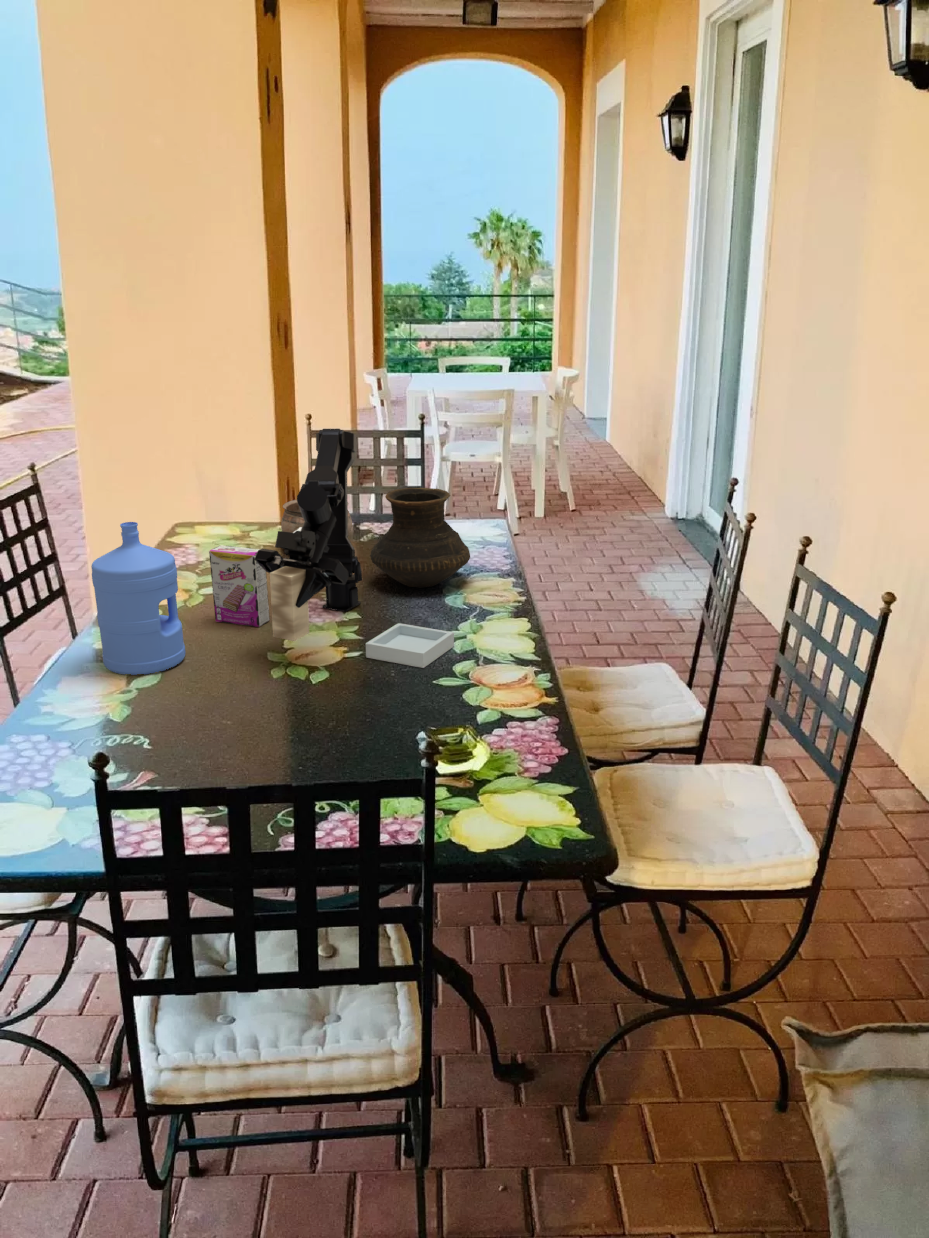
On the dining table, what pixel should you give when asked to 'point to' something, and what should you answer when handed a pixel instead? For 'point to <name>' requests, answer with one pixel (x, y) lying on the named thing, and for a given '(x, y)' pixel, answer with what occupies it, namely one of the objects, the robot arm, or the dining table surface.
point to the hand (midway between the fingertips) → (285, 604)
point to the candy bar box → (238, 586)
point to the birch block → (288, 604)
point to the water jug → (137, 607)
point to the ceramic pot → (419, 539)
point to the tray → (410, 645)
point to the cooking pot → (298, 517)
